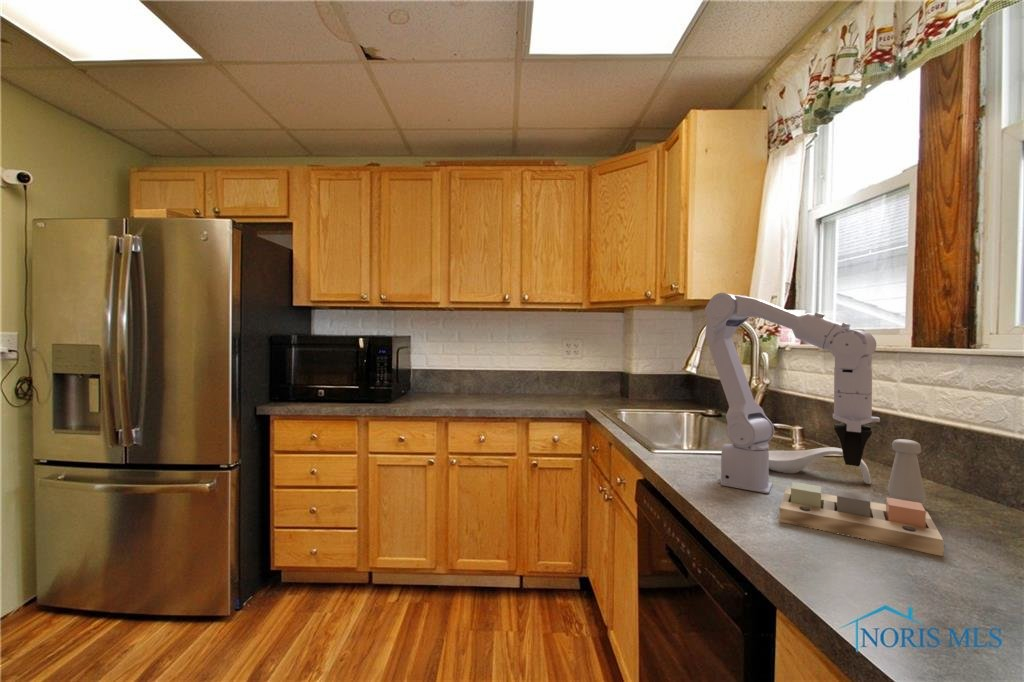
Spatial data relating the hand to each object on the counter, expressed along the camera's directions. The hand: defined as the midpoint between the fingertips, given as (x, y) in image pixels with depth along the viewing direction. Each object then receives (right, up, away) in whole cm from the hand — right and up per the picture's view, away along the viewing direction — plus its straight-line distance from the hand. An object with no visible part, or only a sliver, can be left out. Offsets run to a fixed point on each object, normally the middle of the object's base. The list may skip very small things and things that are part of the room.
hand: (852, 463), depth 84 cm
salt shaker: (+14, -10, +4) cm, 18 cm away
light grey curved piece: (+9, -10, +25) cm, 29 cm away
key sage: (-9, -7, -1) cm, 12 cm away
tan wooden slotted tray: (-4, -9, -5) cm, 11 cm away
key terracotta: (+2, -7, -9) cm, 12 cm away
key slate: (-4, -7, -5) cm, 9 cm away
